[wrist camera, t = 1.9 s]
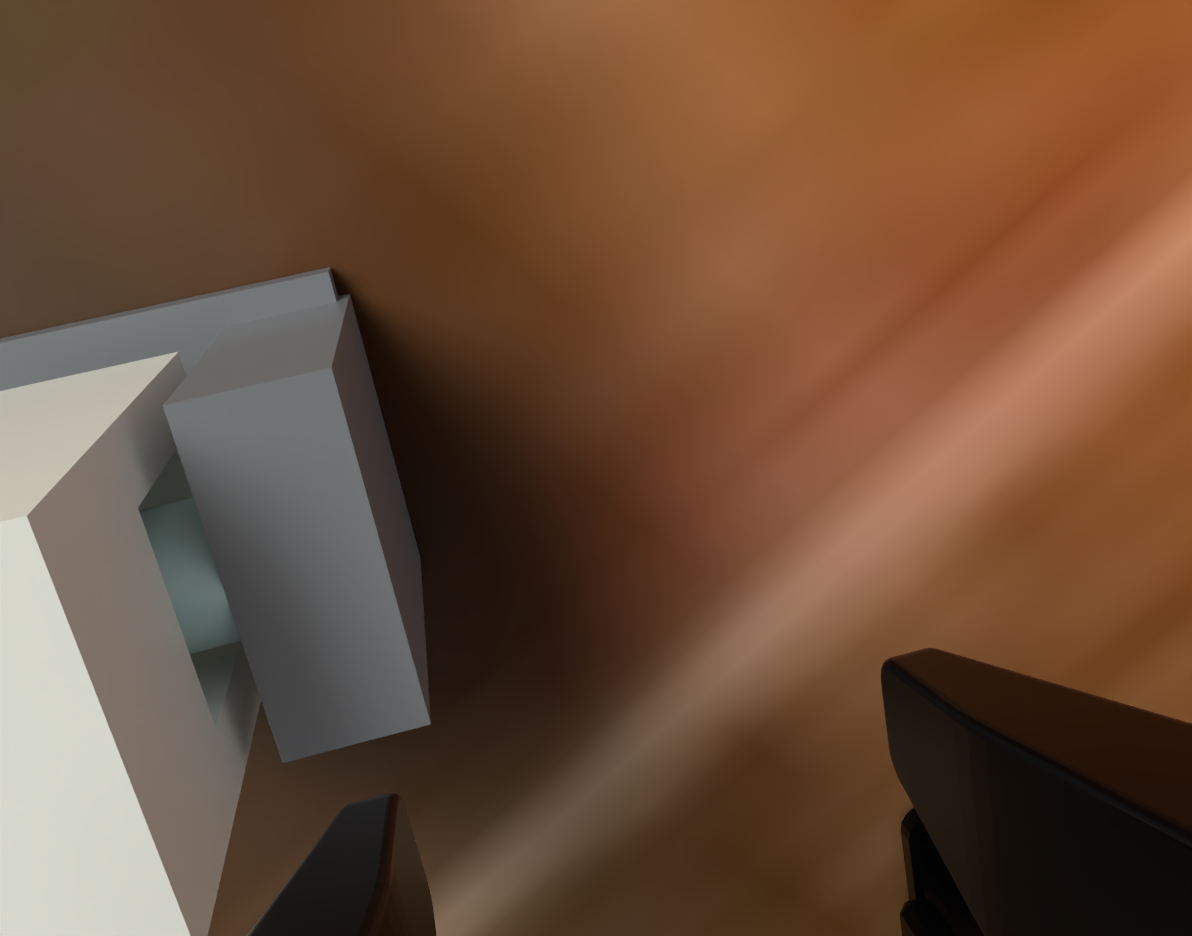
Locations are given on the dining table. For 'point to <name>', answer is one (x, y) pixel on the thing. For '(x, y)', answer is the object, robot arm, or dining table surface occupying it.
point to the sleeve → (106, 673)
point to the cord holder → (275, 500)
